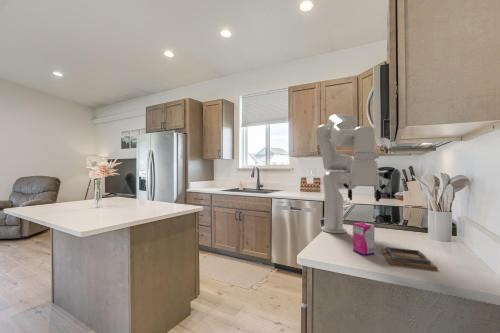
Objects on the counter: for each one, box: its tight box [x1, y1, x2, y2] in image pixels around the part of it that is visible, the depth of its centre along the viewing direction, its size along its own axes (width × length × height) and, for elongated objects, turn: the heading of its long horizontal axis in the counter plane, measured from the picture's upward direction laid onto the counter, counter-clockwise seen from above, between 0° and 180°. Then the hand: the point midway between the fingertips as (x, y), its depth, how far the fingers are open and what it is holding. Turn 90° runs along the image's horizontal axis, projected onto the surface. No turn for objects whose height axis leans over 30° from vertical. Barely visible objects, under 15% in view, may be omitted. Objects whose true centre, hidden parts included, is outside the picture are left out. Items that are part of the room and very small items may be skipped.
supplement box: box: [352, 222, 376, 257], centre depth 96 cm, size 6×6×12 cm
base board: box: [380, 246, 438, 272], centre depth 88 cm, size 14×14×2 cm
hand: (363, 200), depth 95 cm, fingers open, 9 cm apart
